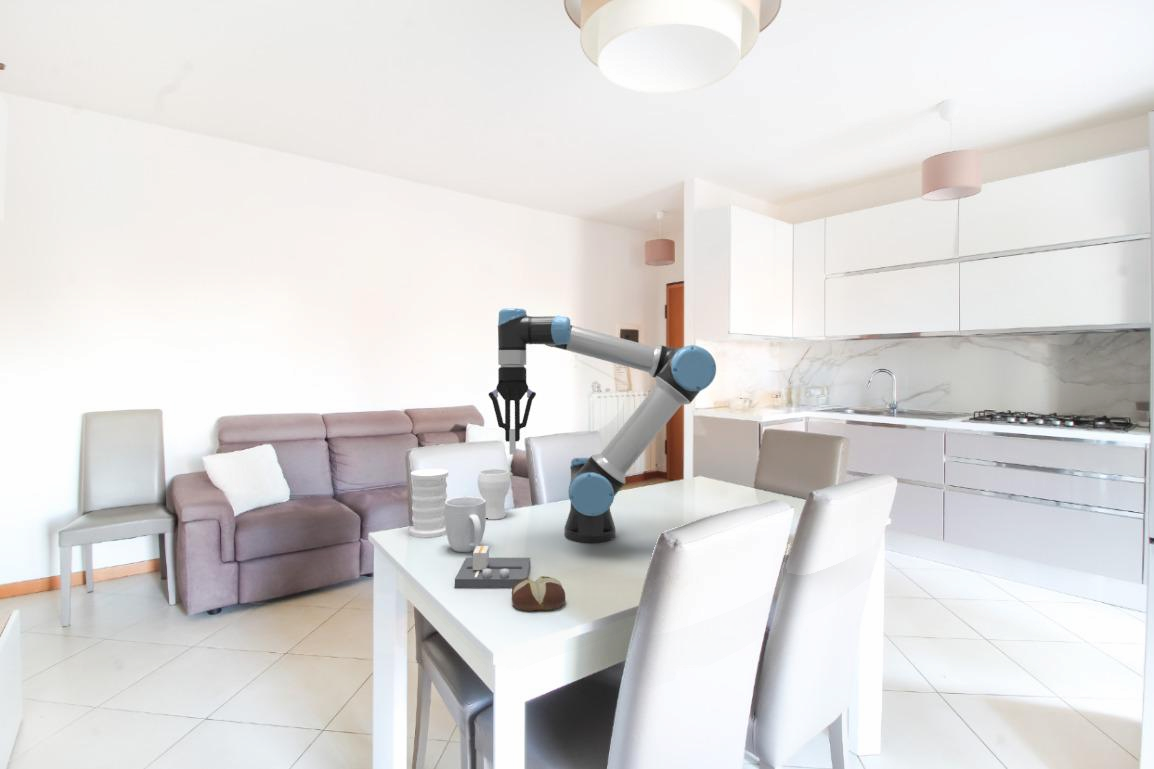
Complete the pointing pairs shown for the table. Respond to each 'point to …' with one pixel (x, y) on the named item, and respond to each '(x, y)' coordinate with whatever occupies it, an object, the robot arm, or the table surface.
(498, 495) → the cup
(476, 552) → the fader cap
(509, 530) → the table surface
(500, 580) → the console
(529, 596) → the bread
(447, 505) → the mug
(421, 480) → the decorative container
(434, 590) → the table surface
